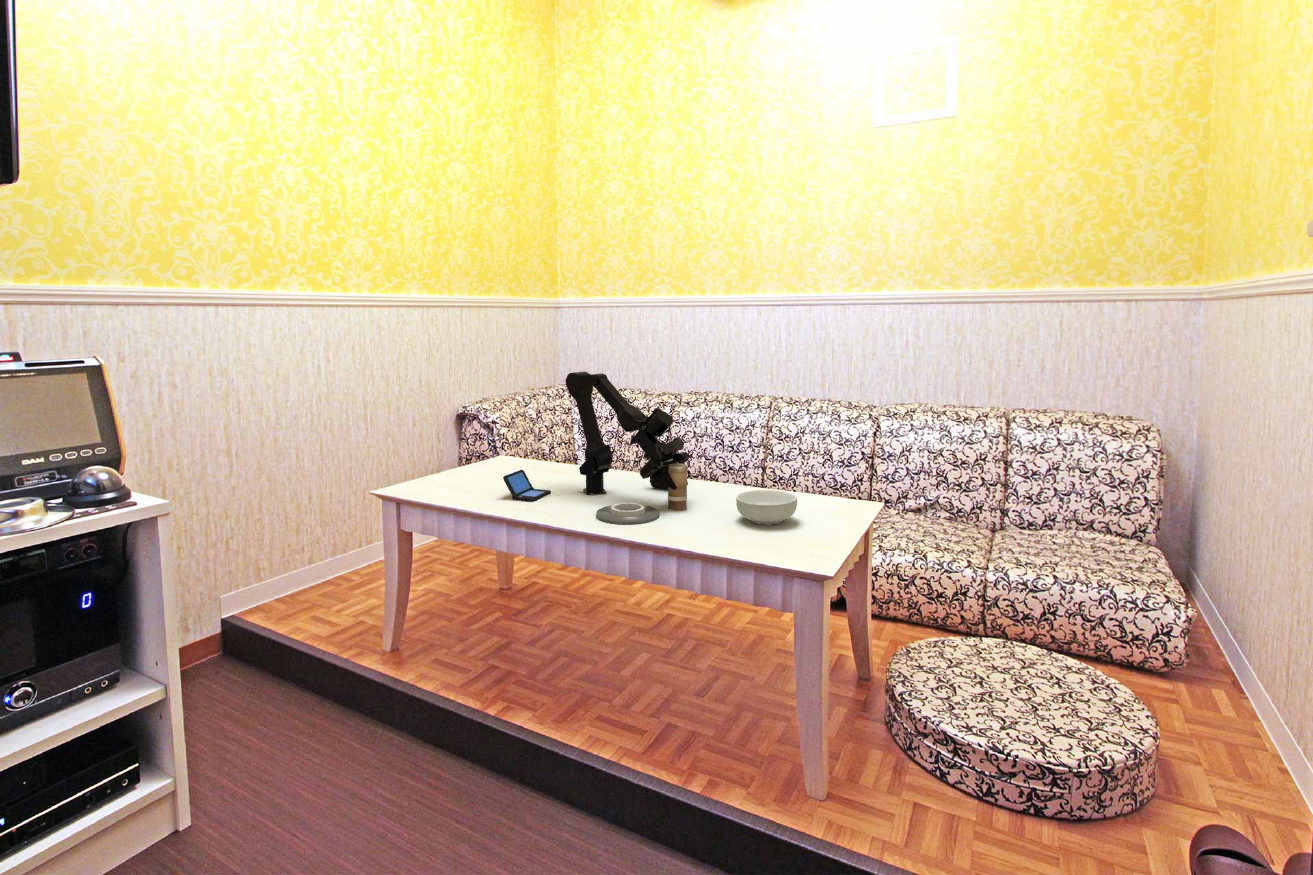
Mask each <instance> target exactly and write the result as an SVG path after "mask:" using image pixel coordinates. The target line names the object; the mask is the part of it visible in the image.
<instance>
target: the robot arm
mask: <svg viewBox="0 0 1313 875" xmlns="http://www.w3.org/2000/svg"><path fill="white" fill-rule="evenodd" d="M565 386H566V388H567V391H568V393H569V395H570V396H571V397H572V398H573V400H575V402H576V403H575V404H576V407H577V410H578V414H579V419H580V422H581V426H582V431H583V433H584V439H585V442H586V446H585V450H584V460H585V461H584V462H583V463H582V464H581V465H580V466H579V467H578V469H579V473H580V475H582V476H585V487H584V488H583V492H584V493H585V494H586V495H599V494H600V495H601V494H607V490H605V488H604V484H605V483H604V481H605V480H604V474H605V473H608V472H610V467H611V465H612V463H613V457H614V455H613V452H612V448H611V444H606V443H605V442H604V441H603V439H602V436H601V432H600V428H599V424H598V420H597V416H596V412H595V407H594V404H593V400H592V396H593V391H594V388H595V390H596V391H597V392H598V393H599V395H600V396H601V397H602V398H603V399H604V401H605V402H606V403H607V404H608V405H609V407H610V408H611V409H612V410H613V412H614V414H616V420H617V422H618V424H619V425H620V427H621V428H622V430H623V431H624V432H626V433H631V432H636V433H635V434H632V435H630V442H629V443H630V445H635V444H637V445H638V446H639V447H640V448H641V450H642V452H643V453H644V454H643V458H644V459H648V460H647V461H646V463H645V464H644V465H643V466H642V467H641V468H640V469H639V475H640V477H641V478H642V479H643V480H645V479H649V480H650V479H653V480H656V481H658V482H660V483H662V484H664V485H666V486H667V487H669V488H671V489H673V490H676V489H677V487H676V485H675V483H674V482H673V480H672V478H671V477H670V475H669V473H668V471H667V467H668V465H669V464H685V463H686V462H687V461H688V460H689V459H690V458H691V456H690V454H688V452H687V451H683V450H684V446H685V441H684V440H683V439H682V438H681V436H678V437H675V438H672V440H671V441H668V442H667V443H666V442H665V441H662V442H661V440H660V439H658V437H659V438H660V437H662V436H663V435H664V434H665V433H666V432H667V431H668V430H669V428H671V427H672V425H674V419H673V417H672V416H671V414H669V413H668V412H666V411H664V410H662V409H661V408H660V407H656V408H654V409H653V410H652V412H651V413H650V415H649V416H648V415H646V414H645V413H644V412H642V410H640V409H639V408H638V407H636V406H634V405H632V404H630V403H629V402H628V401H627V400H626V399H625V397H624V396H623V395H622V394H621V393H620V392H619V390H618V389H617V388H616V387H615V386H614V384H613V383H612V382H611V381H610V380H609V379H608V376H607V375H606V374H605V373H593V374H591V373H589V372H588V371H575V372H570V373H568V374H567V375H566V377H565ZM676 451H677V454H676V455H675V454H674V452H676ZM679 451H681V452H679ZM674 455H675V456H674ZM673 456H674V457H673ZM671 457H673V458H672V459H671ZM650 472H652V473H651V474H652V476H651V477H650ZM688 485H689V482H688V481H687V486H688Z"/></svg>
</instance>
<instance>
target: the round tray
mask: <svg viewBox="0 0 1313 875" xmlns="http://www.w3.org/2000/svg"><path fill="white" fill-rule="evenodd" d="M595 514H596V515H595V516H596V519H597V520H599V521H601V522H604V523H607V524H611V525H612V524H613V525H629V526H630V525H641V524H642V525H643V524H647V523H651V522H654V521H656V520H658V519H659V518H660V511H659V510H658V509H657V508H656V507H653V506H650V505H644V504H642V503H641V504H640V503H638V502H637V503H636V502H620V503H619V502H618V503H616V504H612V505H611V504H610V505H608V506H607V505H606V506H604V507H601V508H599V509H598V510H596V512H595Z"/></svg>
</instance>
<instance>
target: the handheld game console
mask: <svg viewBox="0 0 1313 875" xmlns="http://www.w3.org/2000/svg"><path fill="white" fill-rule="evenodd" d="M502 478H503V481H504V483H505V485H506V487H507V489H508V491H509V492H510V495H511V496H512V497H511V499H512V500H511V501H518V500H521V501H520V502H529V503H534V502H536V501H538V500H540V499H542V498H544V497H546V496H549V495H551V493H552V490H550V489H540V488H539V489H538V488H535V487H534V486H533V485H532V483H531V482H530V480H529V477H528V475H527V474H526V472H525V470H524V469H520V470H517V471H514V472H512V473H509V474H506V475H503V477H502ZM548 494H549V495H548ZM533 501H534V502H533Z"/></svg>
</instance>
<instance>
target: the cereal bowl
mask: <svg viewBox="0 0 1313 875" xmlns="http://www.w3.org/2000/svg"><path fill="white" fill-rule="evenodd" d="M735 498H736V500H735V502H736V503H735V504H736V509H737V511H738V512H739V514H740V515H741V516H742V517H743V518H746V519H748V520H750V521H752V522H753V523H754V522H755V523H754V524H758V525H762V524H765V525H764V526H770V525H771V526H772V524H774V525H778V524H780V523H781V522H782V521H786V520H787V519H789V518H791V517H792V516H793V515H794V514H795V512H796V510H797V506H798V497H797V496H796V494H793V493H791V492H788V491H787V492H786V491H781V490H772V489H756V490H747V491H743V492H740V493H737V495H736V497H735Z"/></svg>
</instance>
